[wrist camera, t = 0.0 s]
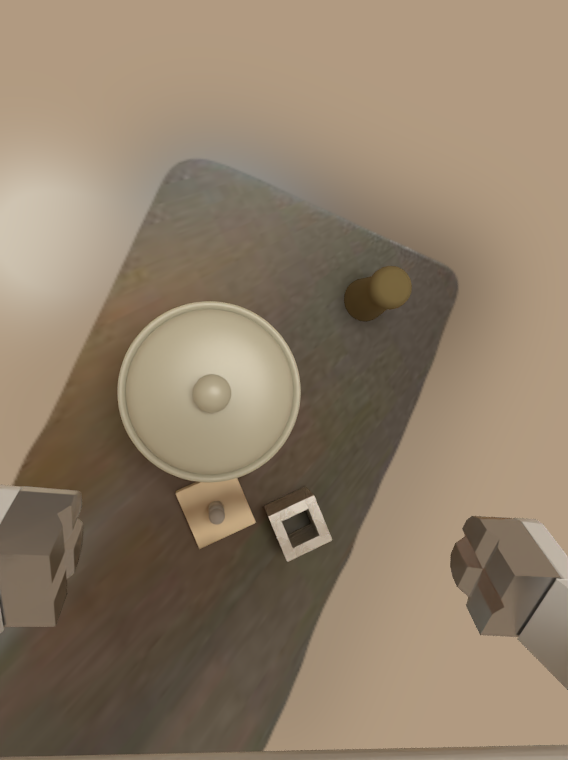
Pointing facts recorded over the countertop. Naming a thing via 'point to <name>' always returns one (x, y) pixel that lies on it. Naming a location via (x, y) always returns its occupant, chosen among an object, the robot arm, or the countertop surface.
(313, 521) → the white hollow square block
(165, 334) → the canister
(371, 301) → the olive pepper mill
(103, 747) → the countertop surface
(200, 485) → the base plate
